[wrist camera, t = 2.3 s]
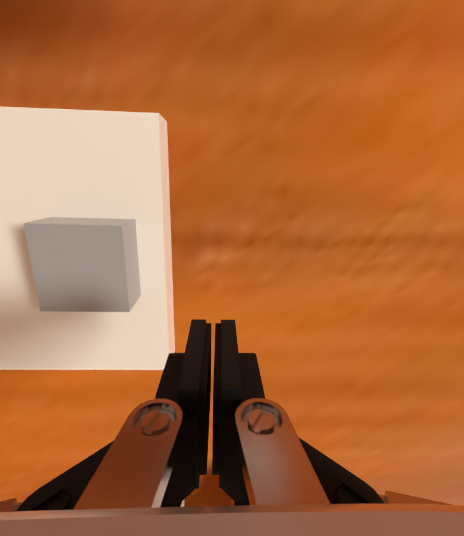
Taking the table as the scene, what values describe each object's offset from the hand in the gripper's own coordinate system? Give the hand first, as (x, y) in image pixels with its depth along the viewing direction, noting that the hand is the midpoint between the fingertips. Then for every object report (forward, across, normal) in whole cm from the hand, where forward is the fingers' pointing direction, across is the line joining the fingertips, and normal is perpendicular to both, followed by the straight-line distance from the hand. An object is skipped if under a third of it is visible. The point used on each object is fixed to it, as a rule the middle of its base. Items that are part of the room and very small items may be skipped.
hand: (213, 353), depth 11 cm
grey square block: (+12, +9, -1) cm, 15 cm away
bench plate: (+14, +12, -1) cm, 19 cm away
